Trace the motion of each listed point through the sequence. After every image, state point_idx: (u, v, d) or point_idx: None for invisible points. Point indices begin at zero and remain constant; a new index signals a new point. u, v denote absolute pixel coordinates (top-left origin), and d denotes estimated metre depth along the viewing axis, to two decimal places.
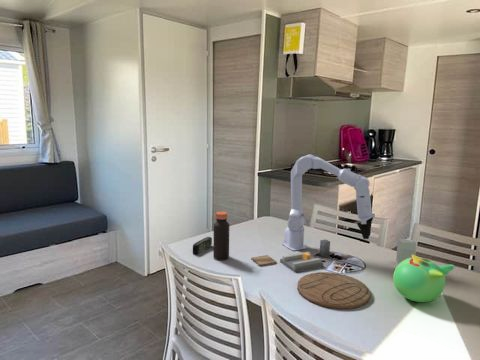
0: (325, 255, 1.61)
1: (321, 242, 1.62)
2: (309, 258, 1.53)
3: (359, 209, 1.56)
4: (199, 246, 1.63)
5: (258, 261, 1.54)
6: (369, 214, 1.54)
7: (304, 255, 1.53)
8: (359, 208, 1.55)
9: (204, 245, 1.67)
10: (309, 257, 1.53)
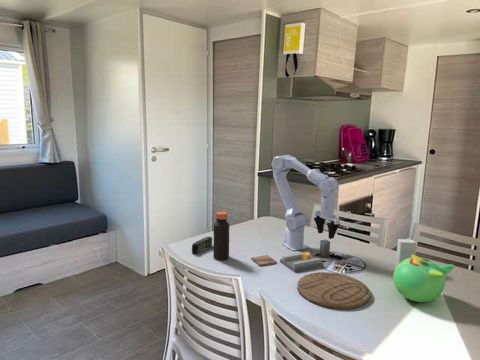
0: (325, 255, 1.61)
1: (321, 242, 1.62)
2: (309, 258, 1.53)
3: (327, 210, 1.57)
4: (198, 246, 1.64)
5: (258, 261, 1.54)
6: (333, 214, 1.59)
7: (304, 255, 1.53)
8: (327, 209, 1.56)
9: (204, 245, 1.68)
10: (309, 257, 1.53)
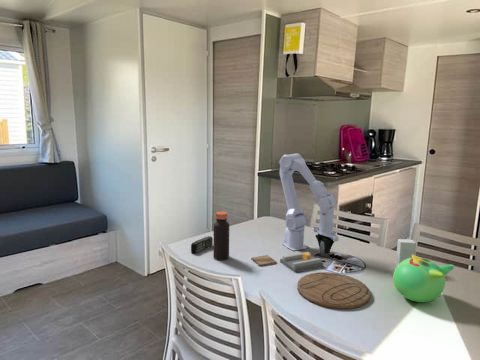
0: (325, 255, 1.61)
1: (321, 242, 1.62)
2: (309, 258, 1.53)
3: (326, 226, 1.58)
4: (197, 245, 1.64)
5: (258, 261, 1.54)
6: (332, 230, 1.60)
7: (304, 255, 1.53)
8: (326, 225, 1.58)
9: (204, 245, 1.68)
10: (309, 257, 1.53)
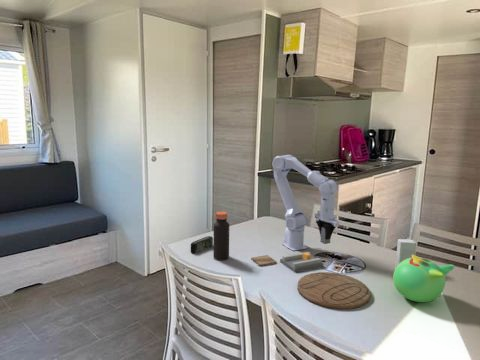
0: (326, 241, 1.60)
1: (322, 228, 1.61)
2: (309, 258, 1.53)
3: (327, 212, 1.57)
4: (197, 245, 1.65)
5: (258, 261, 1.54)
6: None
7: (304, 255, 1.53)
8: (327, 211, 1.57)
9: (204, 244, 1.68)
10: (309, 257, 1.53)
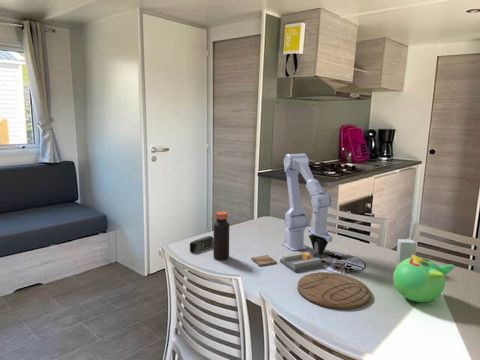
0: (319, 257, 1.55)
1: (315, 243, 1.56)
2: (309, 258, 1.53)
3: (319, 226, 1.51)
4: (196, 244, 1.65)
5: (258, 261, 1.54)
6: (326, 231, 1.54)
7: (304, 255, 1.53)
8: (320, 225, 1.51)
9: (203, 244, 1.69)
10: (309, 257, 1.53)
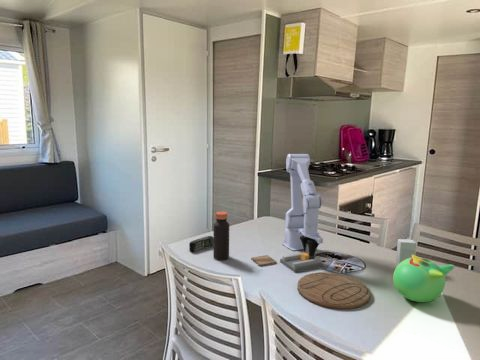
0: (310, 258, 1.53)
1: (306, 245, 1.54)
2: (307, 258, 1.52)
3: (310, 228, 1.49)
4: (196, 244, 1.66)
5: (258, 261, 1.54)
6: (317, 232, 1.52)
7: (302, 255, 1.53)
8: (310, 227, 1.49)
9: (203, 244, 1.69)
10: (307, 257, 1.52)
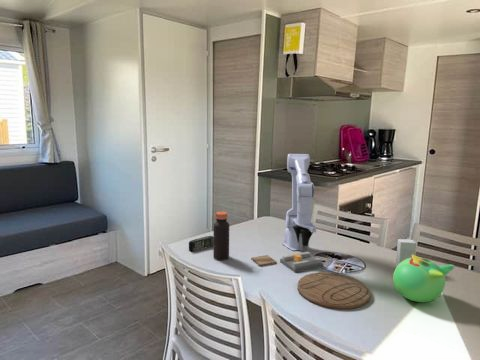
0: (304, 248, 1.51)
1: (299, 234, 1.51)
2: (300, 260, 1.51)
3: (303, 217, 1.47)
4: (195, 243, 1.66)
5: (258, 261, 1.54)
6: (310, 221, 1.49)
7: (295, 257, 1.52)
8: (303, 216, 1.47)
9: (203, 243, 1.70)
10: (300, 259, 1.51)
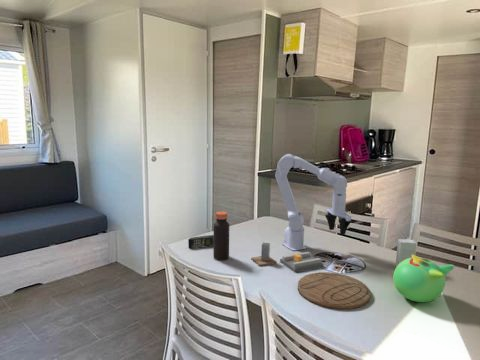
0: (263, 259, 1.54)
1: None
2: (300, 260, 1.51)
3: (339, 207, 1.62)
4: (194, 241, 1.70)
5: (258, 261, 1.54)
6: (344, 211, 1.64)
7: (295, 257, 1.52)
8: (339, 206, 1.62)
9: (203, 242, 1.71)
10: (300, 259, 1.51)
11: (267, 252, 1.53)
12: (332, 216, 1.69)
